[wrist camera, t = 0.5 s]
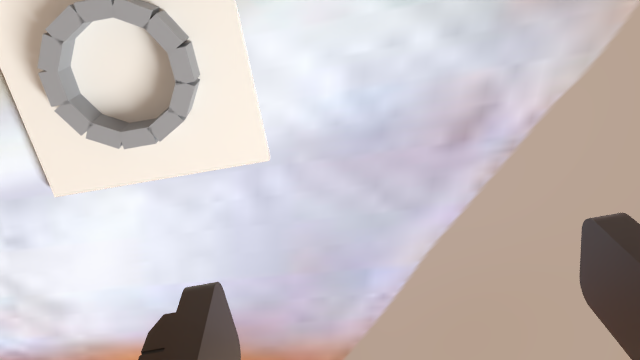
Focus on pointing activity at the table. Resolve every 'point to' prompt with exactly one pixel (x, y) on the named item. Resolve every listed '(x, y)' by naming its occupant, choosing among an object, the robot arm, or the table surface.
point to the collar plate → (131, 89)
